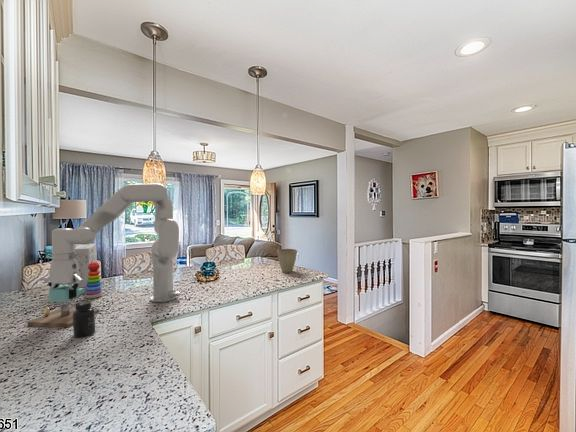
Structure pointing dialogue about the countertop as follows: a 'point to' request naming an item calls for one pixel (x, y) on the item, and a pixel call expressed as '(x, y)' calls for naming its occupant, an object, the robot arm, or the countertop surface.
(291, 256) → the plant pot
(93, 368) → the countertop surface
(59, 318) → the post base
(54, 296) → the teal square scoop
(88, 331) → the supplement bottle
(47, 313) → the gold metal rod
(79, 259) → the cereal box
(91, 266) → the stacking toy
